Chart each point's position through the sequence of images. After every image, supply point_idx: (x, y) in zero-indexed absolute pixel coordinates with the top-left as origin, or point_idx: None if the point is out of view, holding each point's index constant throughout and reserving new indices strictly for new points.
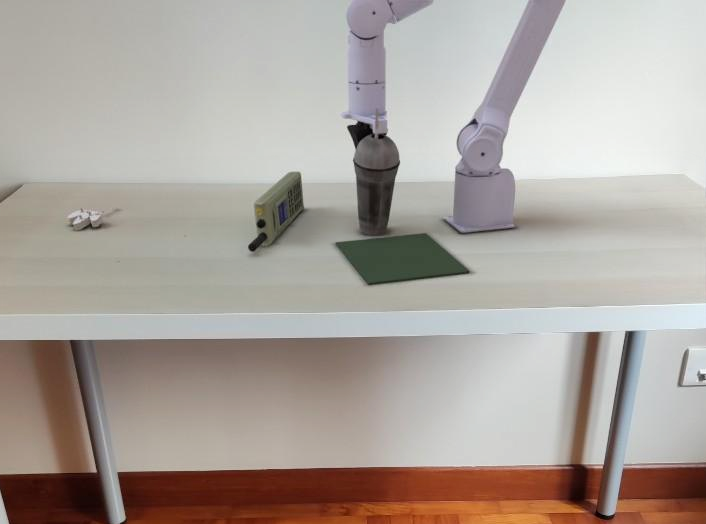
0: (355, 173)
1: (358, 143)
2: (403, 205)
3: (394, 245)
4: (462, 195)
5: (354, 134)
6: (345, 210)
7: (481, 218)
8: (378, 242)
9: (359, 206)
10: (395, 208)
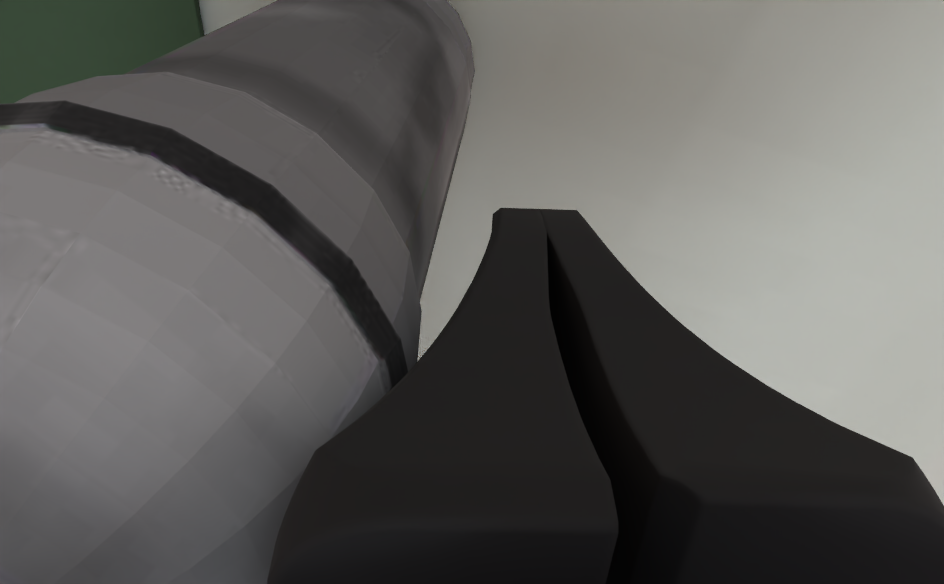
0: (206, 83)
1: (405, 381)
2: (772, 349)
3: (35, 78)
4: None
5: (400, 449)
6: (899, 24)
7: None
8: (102, 3)
9: (290, 3)
10: (747, 301)
